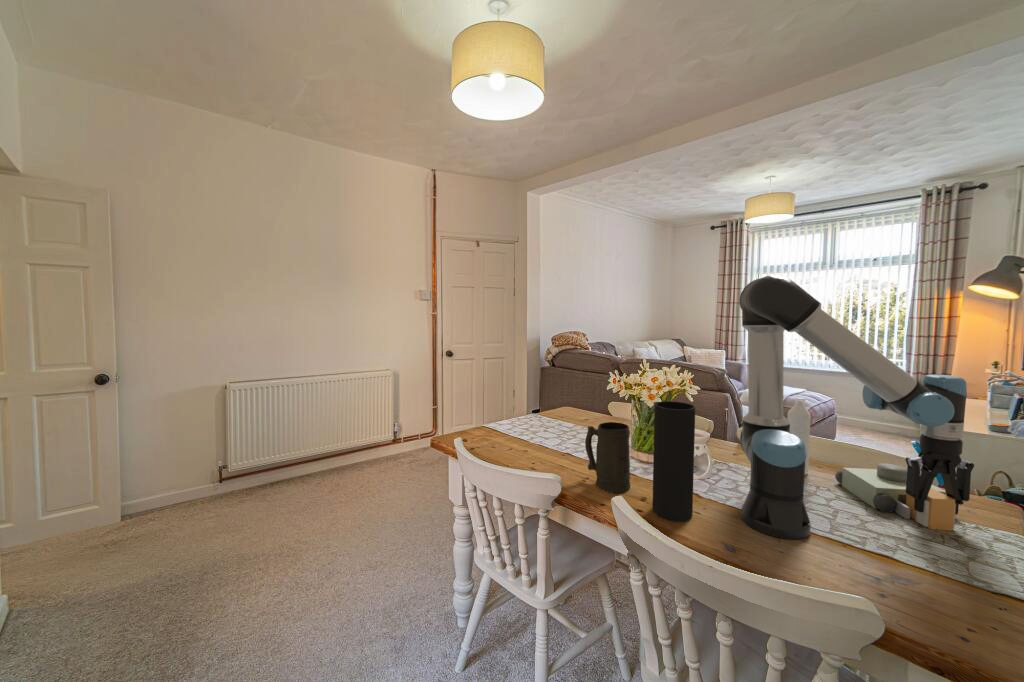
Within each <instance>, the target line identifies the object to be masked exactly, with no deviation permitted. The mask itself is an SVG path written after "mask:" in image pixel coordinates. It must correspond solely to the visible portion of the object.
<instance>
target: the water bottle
mask: <svg viewBox="0 0 1024 682" xmlns="http://www.w3.org/2000/svg"><path fill="white" fill-rule="evenodd" d="M805 402H806V398H805V397H801V396H799V397H796V400H795V402H794V403H795V404H794V405H793V406H792V407H791V408H790V409H789V410H788V412H787V420H789V421H790V434H794V435H796V436H798V437H799V438H800V439H801V440H802V441H803V442H804V444H805V451H806V460H805V475H808V474H809V464H810V463H809V461H810V460H809V459H810V454H809V453H810V442H811V438H810V434H811V418H812V416H811V413H810V411H809V410H808V408H807V407H806V405H805ZM805 475H804V476H805Z"/></svg>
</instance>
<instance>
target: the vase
mask: <svg viewBox="0 0 1024 682" xmlns="http://www.w3.org/2000/svg"><path fill="white" fill-rule="evenodd" d="M653 411H654V417H653V419H654V420H653V421H654V422H653V458H652V459H653V462H652V463H653V464H652V465H653V467H652V468H653V469H652V506H651V507H652V508H651V509H652V512H653V513H654V514H655V515H656V516H658V517H660V519H662V520H667V521H670V522H674V523H675V522H677V523H682V522H687V520H688V521H689V520H690V519H691V520H692V518H693V511H694V509H693V508H694V507H693V505H694V472H695V471H694V470H695V469H694V468H695V467H694V466H695V433H696V431H695V430H696V406H695V405H694V404H691V403H686V402H682V401H673V400H669V401H668V400H667V401H665V400H664V401H657V402H655V403H654V410H653Z"/></svg>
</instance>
